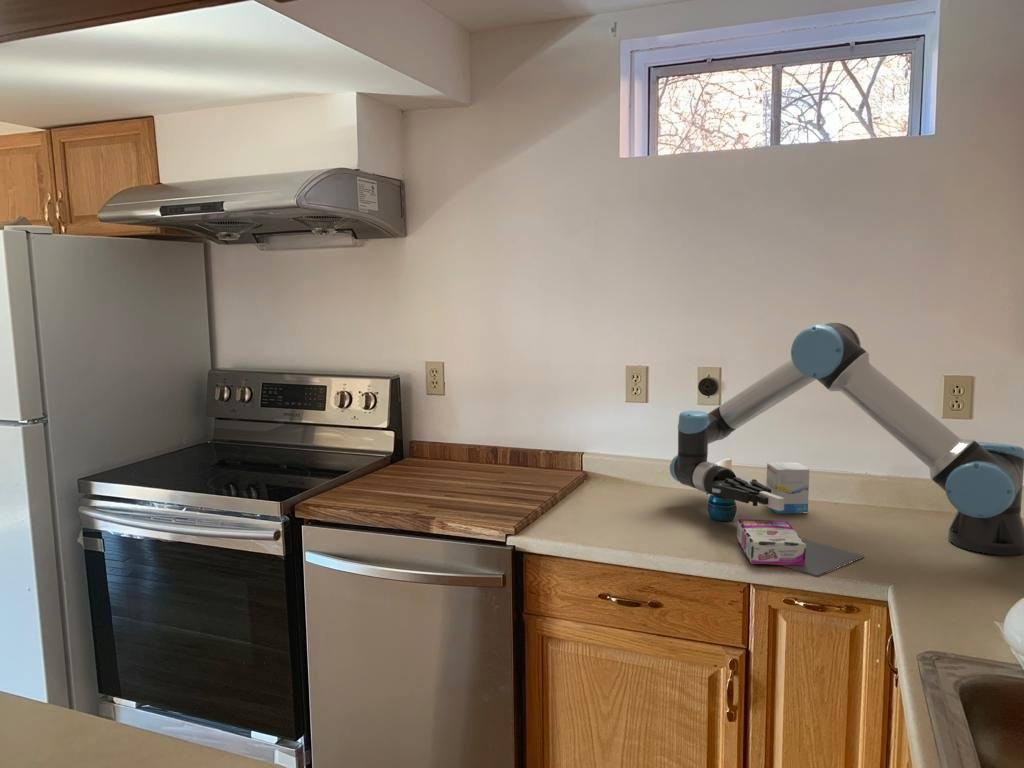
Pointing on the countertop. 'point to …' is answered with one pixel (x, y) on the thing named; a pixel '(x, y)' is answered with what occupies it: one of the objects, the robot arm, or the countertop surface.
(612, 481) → the countertop surface
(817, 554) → the mat
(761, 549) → the candy bar box
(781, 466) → the ink box
